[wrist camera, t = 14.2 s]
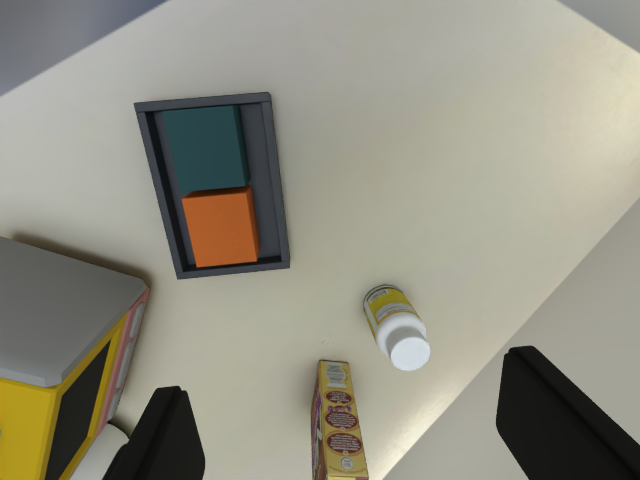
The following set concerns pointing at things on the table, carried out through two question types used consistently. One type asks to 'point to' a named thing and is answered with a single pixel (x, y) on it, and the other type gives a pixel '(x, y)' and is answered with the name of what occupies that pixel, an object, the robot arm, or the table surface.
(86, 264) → the yellow toy microwave
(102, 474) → the white round vase
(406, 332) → the supplement bottle
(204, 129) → the dark teal block
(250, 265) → the tray
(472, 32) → the table surface
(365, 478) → the candy box
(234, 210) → the orange block
